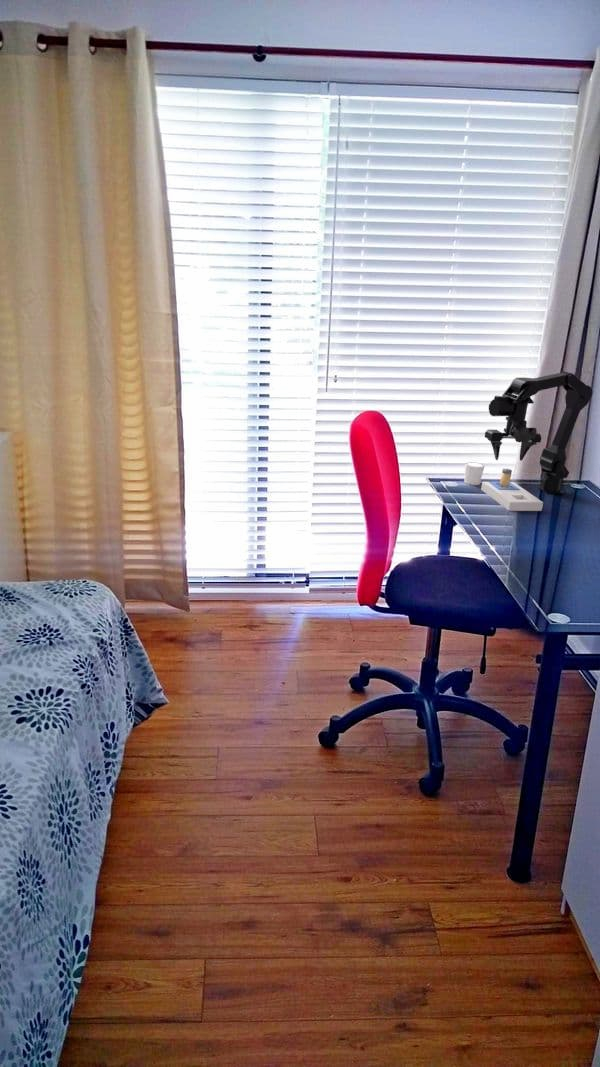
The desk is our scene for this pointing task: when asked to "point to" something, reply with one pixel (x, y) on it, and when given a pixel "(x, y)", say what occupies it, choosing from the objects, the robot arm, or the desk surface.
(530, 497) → the block
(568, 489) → the desk surface
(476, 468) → the white cylinder
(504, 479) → the grey-capped tan cylinder
